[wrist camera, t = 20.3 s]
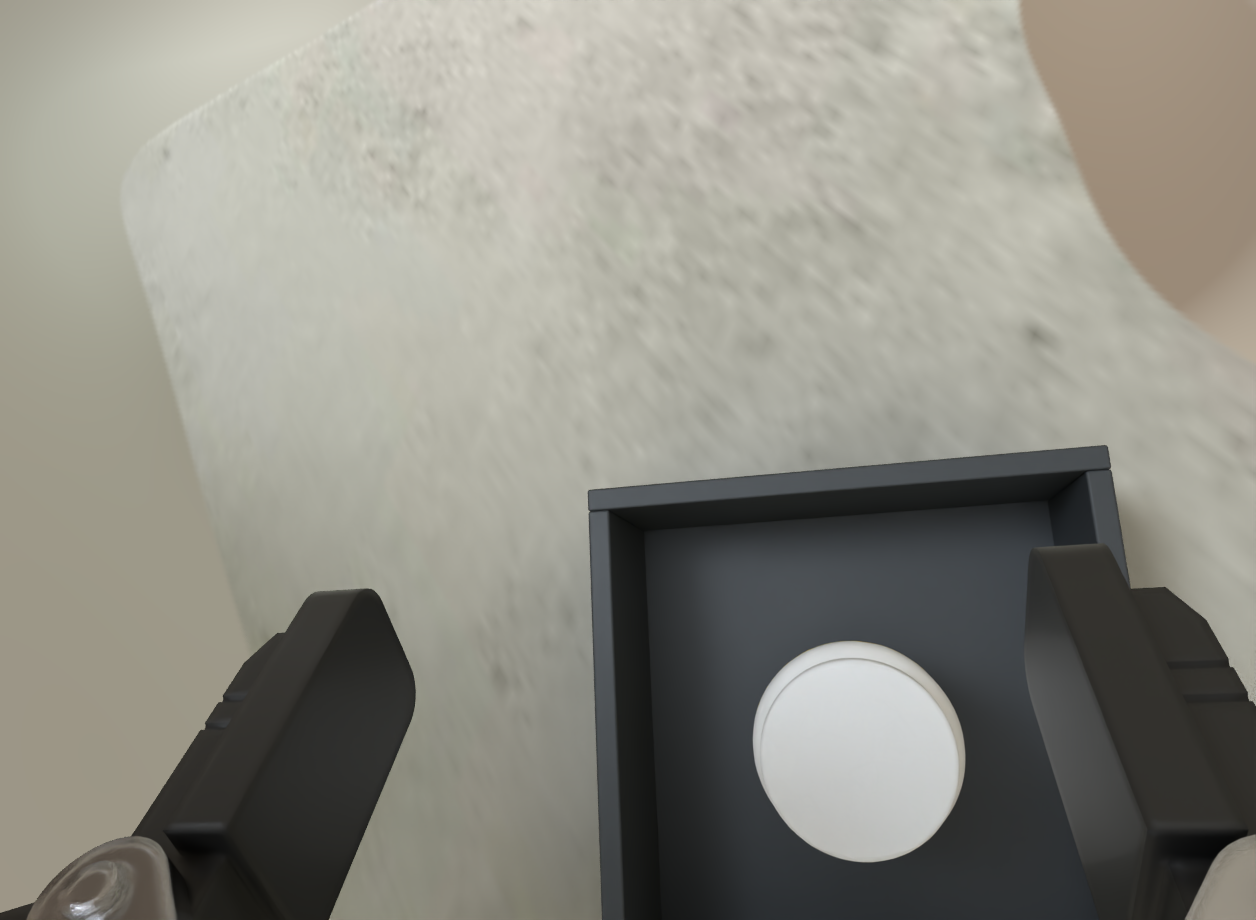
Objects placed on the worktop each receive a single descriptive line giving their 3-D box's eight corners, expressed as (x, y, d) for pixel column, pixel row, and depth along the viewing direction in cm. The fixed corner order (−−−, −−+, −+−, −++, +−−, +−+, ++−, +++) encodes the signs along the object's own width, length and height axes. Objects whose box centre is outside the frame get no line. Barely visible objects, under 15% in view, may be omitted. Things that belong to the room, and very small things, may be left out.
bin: (1135, 970, 24) (1206, 1048, 19) (648, 956, 27) (604, 1022, 22) (1061, 482, 27) (1108, 444, 22) (629, 516, 30) (587, 489, 25)
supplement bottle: (740, 700, 27) (695, 718, 19) (871, 611, 27) (880, 591, 19) (837, 847, 26) (831, 932, 18) (976, 755, 26) (1034, 799, 18)
